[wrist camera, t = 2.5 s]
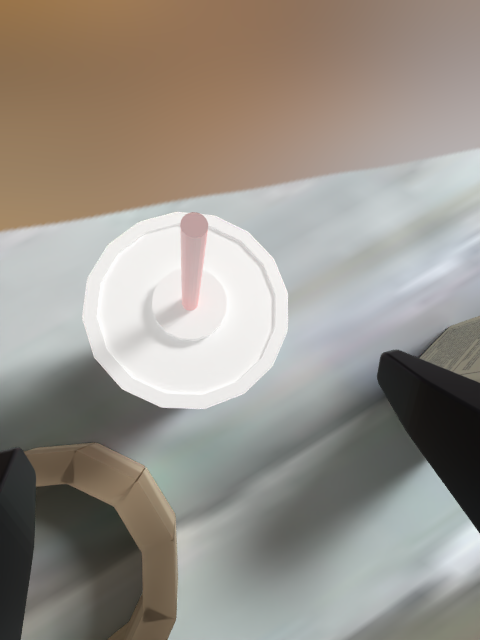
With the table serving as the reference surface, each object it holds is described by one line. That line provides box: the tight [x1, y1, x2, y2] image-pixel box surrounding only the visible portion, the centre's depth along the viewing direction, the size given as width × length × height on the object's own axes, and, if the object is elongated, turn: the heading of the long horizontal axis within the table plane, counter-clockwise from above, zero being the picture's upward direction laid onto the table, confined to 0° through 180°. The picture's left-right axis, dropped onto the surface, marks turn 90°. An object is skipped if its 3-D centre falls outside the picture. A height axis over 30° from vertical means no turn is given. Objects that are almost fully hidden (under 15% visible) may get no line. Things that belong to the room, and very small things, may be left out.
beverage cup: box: [82, 212, 288, 409], centre depth 13 cm, size 6×6×14 cm
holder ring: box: [24, 442, 178, 640], centre depth 15 cm, size 10×10×4 cm
